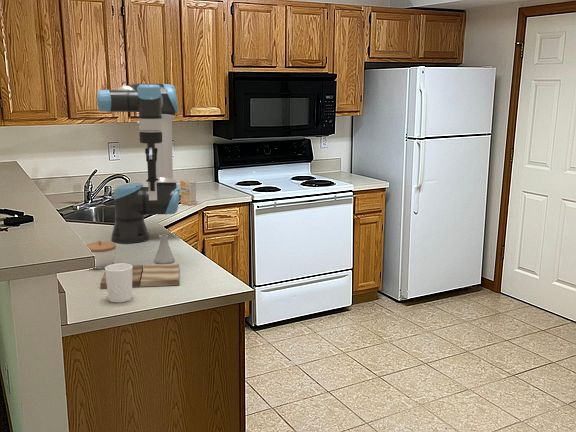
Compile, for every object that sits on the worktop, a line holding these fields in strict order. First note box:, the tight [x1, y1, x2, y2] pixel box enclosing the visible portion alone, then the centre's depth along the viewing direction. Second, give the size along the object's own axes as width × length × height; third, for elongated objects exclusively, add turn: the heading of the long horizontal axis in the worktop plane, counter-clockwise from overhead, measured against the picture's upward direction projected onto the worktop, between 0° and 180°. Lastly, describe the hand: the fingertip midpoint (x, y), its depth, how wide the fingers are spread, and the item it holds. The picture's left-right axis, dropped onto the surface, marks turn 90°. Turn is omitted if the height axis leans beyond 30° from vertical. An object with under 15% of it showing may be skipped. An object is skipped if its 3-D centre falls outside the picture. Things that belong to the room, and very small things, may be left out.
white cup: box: [104, 262, 133, 303], centre depth 175 cm, size 8×8×10 cm
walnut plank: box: [99, 264, 144, 290], centre depth 194 cm, size 18×12×2 cm, turn 10°
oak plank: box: [140, 263, 180, 287], centre depth 196 cm, size 18×12×2 cm, turn 10°
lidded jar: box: [85, 240, 117, 270], centre depth 207 cm, size 11×11×9 cm
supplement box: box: [179, 179, 197, 207], centre depth 321 cm, size 8×5×13 cm, turn 50°
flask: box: [153, 233, 176, 264], centre depth 213 cm, size 7×7×10 cm
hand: (153, 199), depth 202 cm, fingers closed
